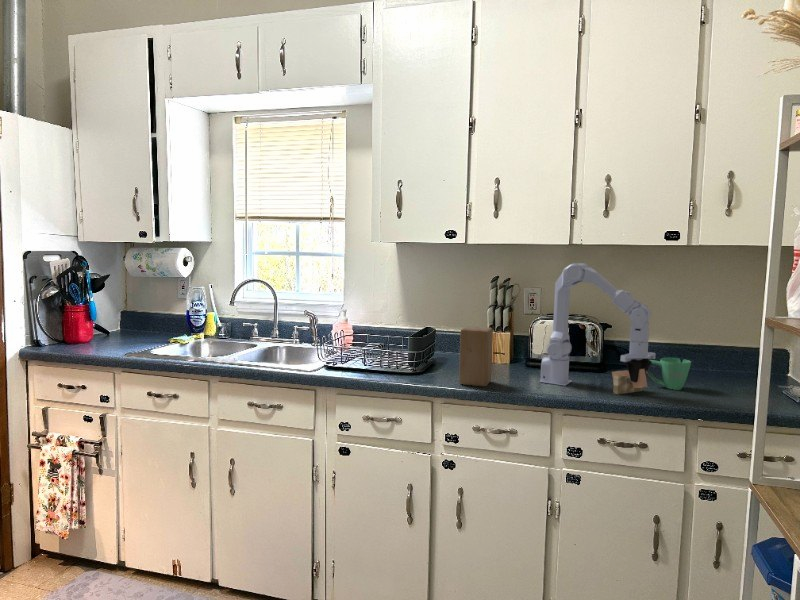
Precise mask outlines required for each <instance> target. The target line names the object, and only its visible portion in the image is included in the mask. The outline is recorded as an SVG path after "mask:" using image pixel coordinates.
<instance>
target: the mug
mask: <svg viewBox="0 0 800 600" xmlns="http://www.w3.org/2000/svg"><path fill="white" fill-rule="evenodd" d="M649 360H650V361H652V364H651V365H656V366H659V367H660V368H661V373H662V374H661V375H662V378H663V381H662V380H660V379H658V378H656V376H654V375H653V373H651V371H650V370H649V368H650V367H649V368H648V370H647V372H646V374H647V375H648V376H649V377H650V378H651V379H652V380H653V381H654V382H656V384H660V385H662V386H664V387H666V388H667V389H668V390H669V389H670V390H672V389H673V390H675V391H680V390H681V391H682V388H683V387H684V385H685V383H686V380H687V379H688V375H689V372H690V368H691V365H692V361H691V360H689V359H682V361H681V358H677V357H662V358H660V361H658V360H655V359H649Z"/></svg>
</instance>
